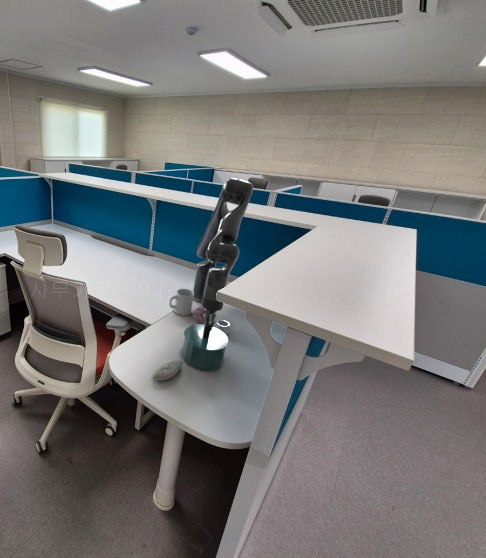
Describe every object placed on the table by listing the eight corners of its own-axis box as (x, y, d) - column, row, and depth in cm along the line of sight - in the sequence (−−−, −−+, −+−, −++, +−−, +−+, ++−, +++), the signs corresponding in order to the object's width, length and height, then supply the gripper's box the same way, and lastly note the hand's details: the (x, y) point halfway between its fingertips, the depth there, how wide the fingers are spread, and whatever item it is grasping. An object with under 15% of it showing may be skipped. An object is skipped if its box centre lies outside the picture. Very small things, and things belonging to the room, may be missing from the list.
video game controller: (203, 316, 153) (199, 303, 152) (211, 316, 149) (208, 303, 149) (194, 324, 146) (190, 311, 145) (203, 324, 142) (199, 310, 142)
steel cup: (214, 327, 141) (216, 318, 139) (227, 330, 140) (229, 320, 138) (214, 334, 136) (216, 325, 134) (227, 336, 135) (229, 327, 133)
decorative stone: (186, 368, 115) (187, 361, 114) (160, 387, 105) (161, 380, 104) (173, 360, 119) (174, 353, 118) (147, 378, 109) (148, 370, 108)
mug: (186, 306, 158) (189, 288, 154) (193, 315, 151) (197, 295, 146) (165, 308, 156) (167, 289, 151) (171, 317, 148) (174, 297, 144)
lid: (185, 323, 127) (187, 311, 125) (226, 331, 123) (229, 318, 121) (181, 346, 112) (184, 333, 110) (228, 356, 108) (232, 342, 106)
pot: (183, 341, 130) (186, 323, 126) (221, 349, 126) (225, 330, 122) (180, 365, 116) (183, 345, 113) (222, 374, 113) (227, 353, 109)
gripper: (225, 306, 103) (216, 347, 110) (223, 288, 115) (215, 326, 122) (202, 302, 104) (195, 343, 112) (203, 285, 117) (197, 323, 124)
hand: (206, 334), depth 117 cm, fingers closed on lid, 2 cm apart
